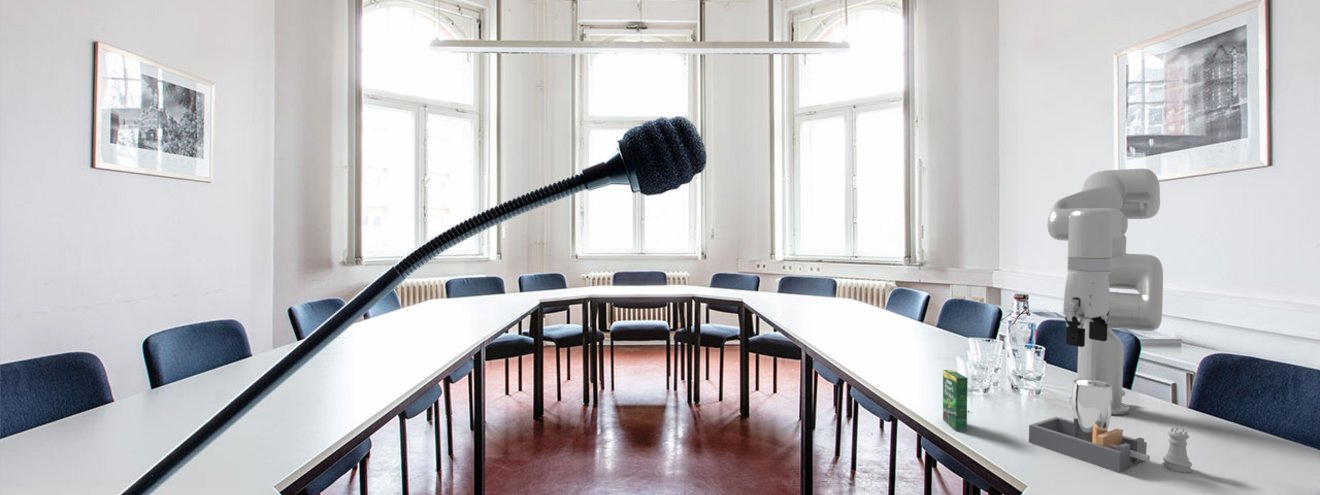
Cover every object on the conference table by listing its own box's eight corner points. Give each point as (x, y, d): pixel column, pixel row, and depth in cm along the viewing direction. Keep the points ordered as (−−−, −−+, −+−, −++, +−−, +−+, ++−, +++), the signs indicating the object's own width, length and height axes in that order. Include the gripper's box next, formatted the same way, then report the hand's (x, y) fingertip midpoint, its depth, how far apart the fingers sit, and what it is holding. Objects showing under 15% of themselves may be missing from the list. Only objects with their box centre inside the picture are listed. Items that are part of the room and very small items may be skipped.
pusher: (1116, 451, 116) (1117, 428, 116) (1157, 463, 110) (1158, 440, 110) (1096, 459, 112) (1097, 435, 112) (1138, 472, 106) (1139, 448, 106)
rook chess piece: (1155, 464, 111) (1157, 426, 111) (1175, 463, 112) (1177, 425, 111) (1178, 474, 107) (1180, 434, 107) (1198, 473, 107) (1200, 433, 107)
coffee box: (941, 419, 137) (942, 368, 137) (953, 419, 137) (954, 369, 136) (954, 431, 129) (955, 377, 129) (967, 431, 129) (968, 378, 128)
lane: (1055, 433, 128) (1056, 412, 128) (1146, 461, 113) (1146, 437, 113) (1028, 442, 123) (1029, 420, 122) (1119, 472, 108) (1120, 448, 107)
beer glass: (1118, 459, 113) (1120, 388, 112) (1080, 456, 114) (1082, 386, 114) (1098, 445, 120) (1100, 379, 119) (1063, 443, 121) (1065, 377, 120)
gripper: (1088, 262, 125) (1086, 335, 126) (1048, 266, 116) (1046, 344, 117) (1128, 264, 118) (1126, 341, 119) (1089, 269, 110) (1087, 351, 111)
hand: (1086, 342), depth 118 cm, fingers open, 9 cm apart
